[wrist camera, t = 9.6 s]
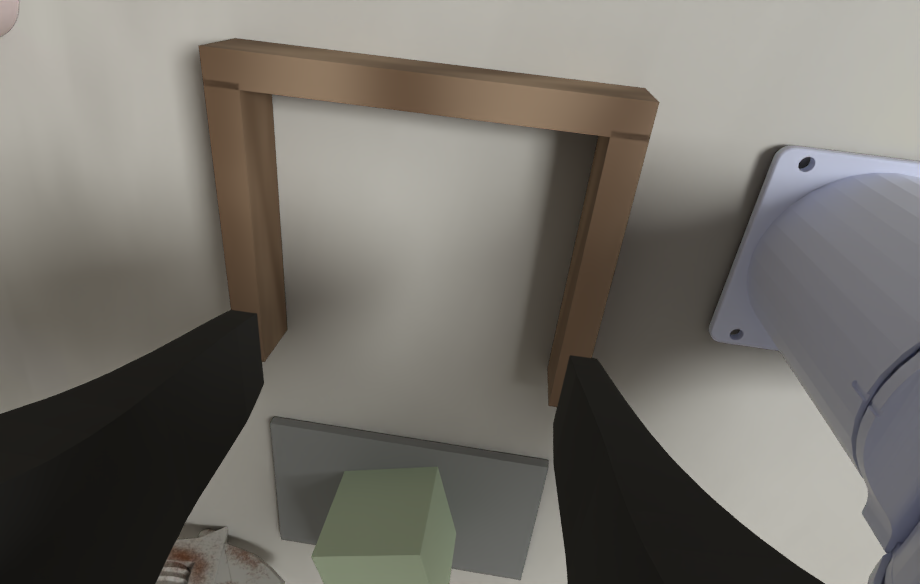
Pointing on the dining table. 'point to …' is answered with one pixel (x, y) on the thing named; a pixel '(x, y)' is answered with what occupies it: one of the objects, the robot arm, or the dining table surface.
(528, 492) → the mat
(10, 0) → the smoothie
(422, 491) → the cube
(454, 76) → the wooden u-shaped frame
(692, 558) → the robot arm
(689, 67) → the dining table surface
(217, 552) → the wrench
